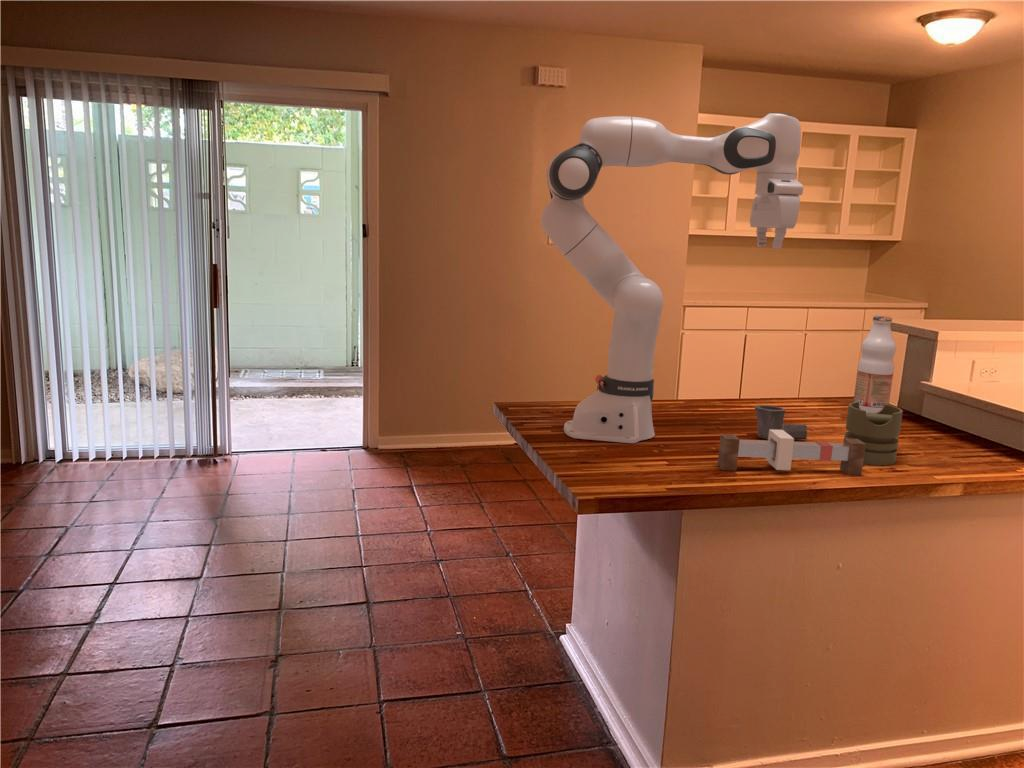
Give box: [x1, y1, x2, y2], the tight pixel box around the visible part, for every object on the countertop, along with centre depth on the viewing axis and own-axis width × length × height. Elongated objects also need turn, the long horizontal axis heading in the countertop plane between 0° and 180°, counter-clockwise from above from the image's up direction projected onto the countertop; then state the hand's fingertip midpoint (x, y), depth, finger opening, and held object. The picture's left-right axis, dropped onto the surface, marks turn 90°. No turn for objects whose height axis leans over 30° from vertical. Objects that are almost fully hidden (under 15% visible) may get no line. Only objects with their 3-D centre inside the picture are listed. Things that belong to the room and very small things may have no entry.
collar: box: [765, 429, 795, 471], centre depth 168 cm, size 3×7×7 cm, turn 0°
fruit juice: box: [852, 315, 897, 414], centre depth 223 cm, size 9×9×28 cm
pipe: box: [754, 404, 808, 440], centre depth 192 cm, size 6×13×8 cm, turn 78°
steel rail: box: [738, 439, 850, 462], centre depth 168 cm, size 28×3×3 cm, turn 90°
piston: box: [843, 402, 904, 466], centre depth 178 cm, size 11×12×11 cm
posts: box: [717, 433, 866, 476], centre depth 168 cm, size 30×4×7 cm, turn 90°
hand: (768, 248), depth 182 cm, fingers open, 8 cm apart
